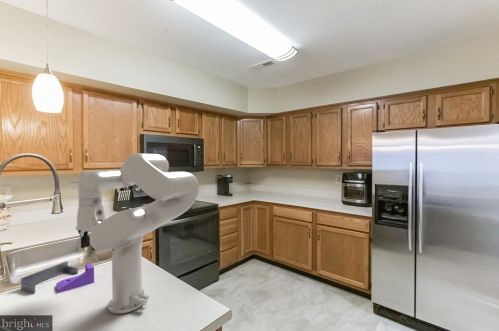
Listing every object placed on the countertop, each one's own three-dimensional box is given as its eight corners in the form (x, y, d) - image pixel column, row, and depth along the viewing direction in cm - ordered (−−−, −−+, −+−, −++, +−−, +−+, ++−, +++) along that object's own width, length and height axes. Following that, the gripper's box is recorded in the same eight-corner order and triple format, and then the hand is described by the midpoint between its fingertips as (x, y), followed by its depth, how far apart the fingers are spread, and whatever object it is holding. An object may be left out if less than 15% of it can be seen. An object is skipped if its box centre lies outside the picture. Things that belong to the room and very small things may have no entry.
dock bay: (77, 274, 109) (77, 263, 109) (33, 293, 93) (33, 281, 93) (66, 272, 111) (66, 261, 111) (21, 290, 95) (20, 278, 95)
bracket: (90, 277, 107) (90, 262, 107) (94, 283, 102) (94, 267, 102) (56, 287, 98) (56, 270, 98) (58, 293, 93) (57, 276, 93)
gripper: (115, 201, 95) (115, 247, 95) (84, 199, 100) (84, 242, 101) (97, 204, 88) (97, 254, 88) (65, 202, 93) (65, 248, 94)
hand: (90, 247), depth 94 cm, fingers open, 5 cm apart
